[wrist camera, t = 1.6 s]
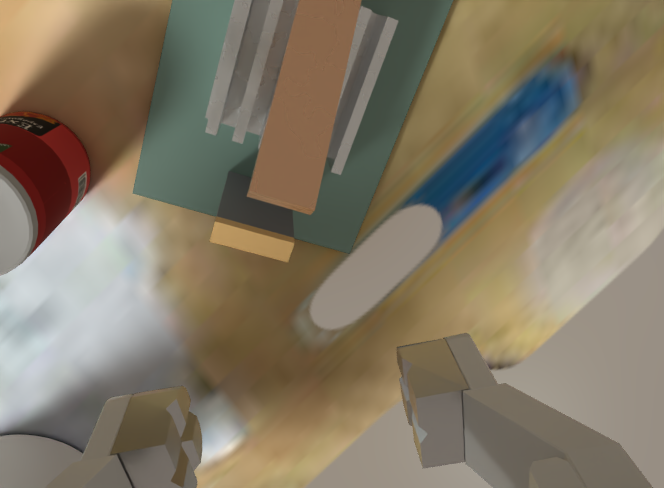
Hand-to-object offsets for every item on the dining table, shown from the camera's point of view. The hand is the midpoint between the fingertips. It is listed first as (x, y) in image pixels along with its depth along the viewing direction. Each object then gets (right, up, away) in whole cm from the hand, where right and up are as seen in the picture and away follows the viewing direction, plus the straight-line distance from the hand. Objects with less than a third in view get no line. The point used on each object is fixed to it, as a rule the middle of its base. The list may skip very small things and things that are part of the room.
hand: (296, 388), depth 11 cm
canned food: (-21, +9, +28) cm, 37 cm away
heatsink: (-2, +16, +27) cm, 31 cm away
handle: (0, +12, +16) cm, 20 cm away
